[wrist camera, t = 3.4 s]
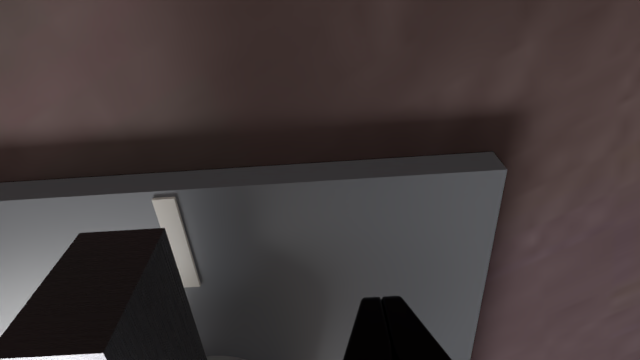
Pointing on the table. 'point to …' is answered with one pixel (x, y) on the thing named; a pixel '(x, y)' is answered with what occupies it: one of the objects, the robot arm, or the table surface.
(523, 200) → the table surface
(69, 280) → the brass dome with handle
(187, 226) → the socket base
